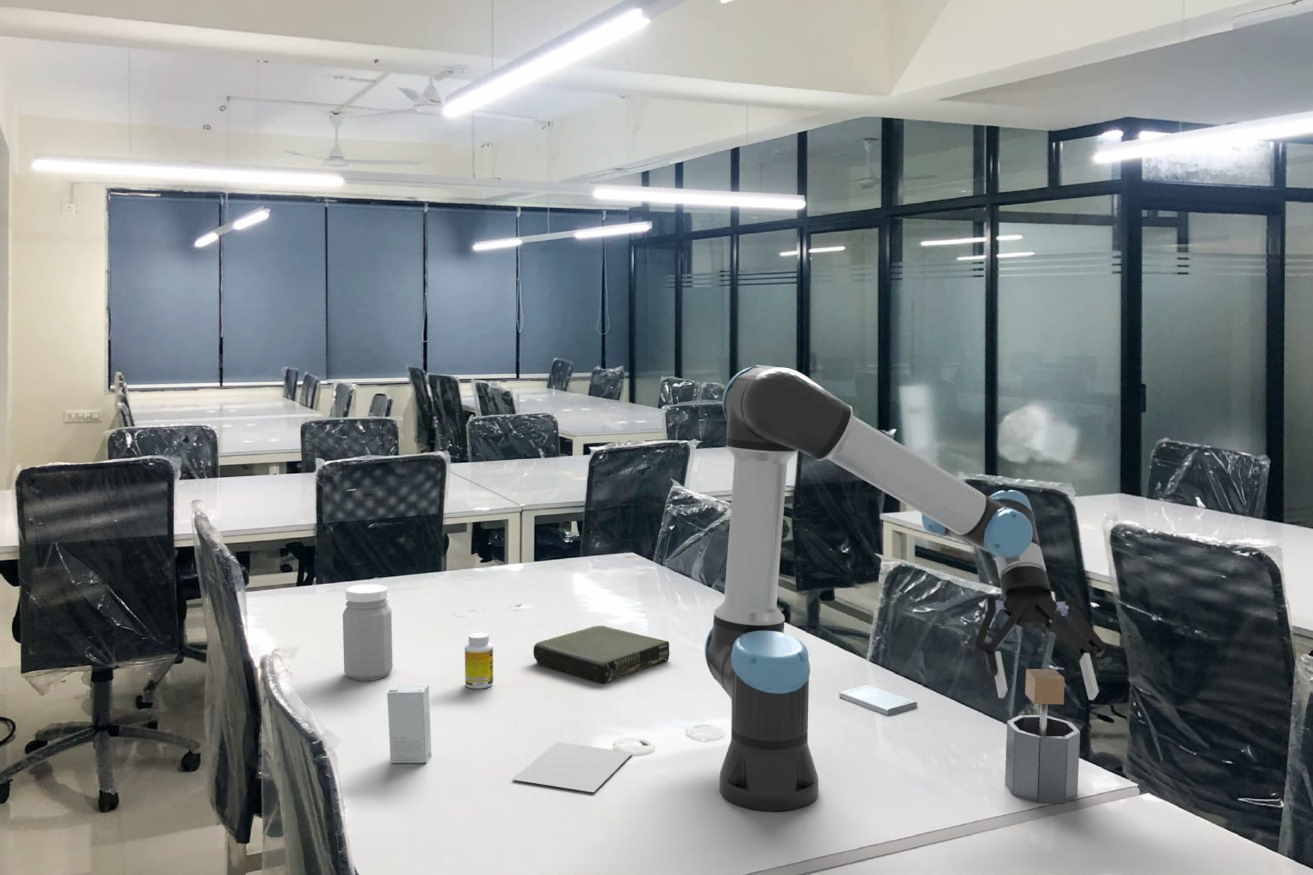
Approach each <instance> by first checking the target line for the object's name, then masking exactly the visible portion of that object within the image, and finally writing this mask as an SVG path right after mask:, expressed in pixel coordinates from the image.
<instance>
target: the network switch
mask: <svg viewBox="0 0 1313 875" xmlns="http://www.w3.org/2000/svg"><path fill="white" fill-rule="evenodd" d="M532 651H533V652H532V654H533V657H534V659H535V660H536V663H537V664H538V665H541V666H544V667H547V668H549V669H553V670H557V671H561V672H564V673H567V674H570V675H573V676H576V677H579V678H582V679H585V680H587V681H591V682H594V683H597V682H598V684H602V685H604V684H608V682H611V681H613V680H614V679H616V678H618V679H620V678H621V677H622V676H625V675H630V674H631V673H634V672H637V671H639V670H640V671H642V670H643V669H644V668H647V667H650V666H652V665H655V664H658V663H661V662H662V661H663V662H664V661H665V659H666V660H668V661H669V658H670V642H669V641H667V640H663V639H659V638H655V637H651V636H647V635H643V634H638V633H633V632H630V631H626V630H622V629H617V628H612V627H610V626H605V625H595V626H591V627H588V628H584V629H580V630H576V631H573V632H570V633H566V634H563V635H558V636H555V637H551V638H548V639H544V640H542V641H539V642H536V643H535V644H534V646H533V650H532Z"/></svg>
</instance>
